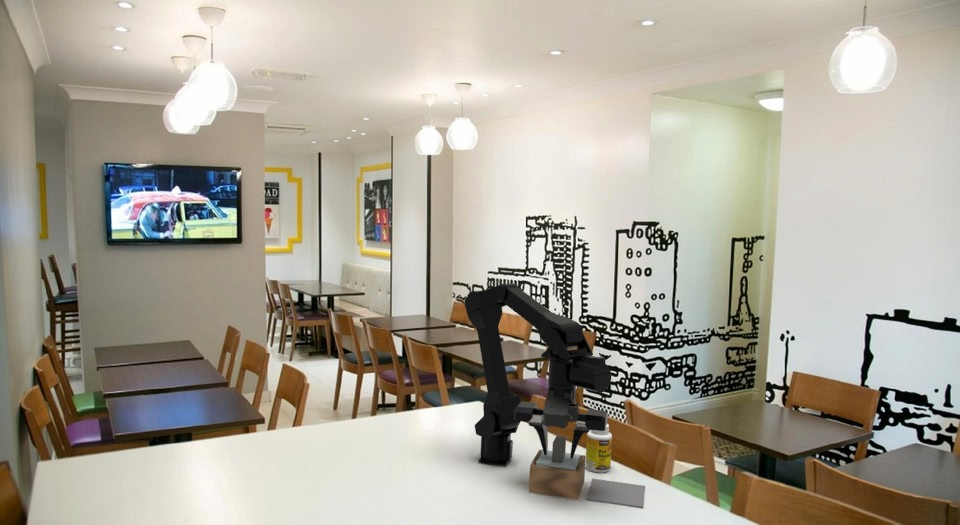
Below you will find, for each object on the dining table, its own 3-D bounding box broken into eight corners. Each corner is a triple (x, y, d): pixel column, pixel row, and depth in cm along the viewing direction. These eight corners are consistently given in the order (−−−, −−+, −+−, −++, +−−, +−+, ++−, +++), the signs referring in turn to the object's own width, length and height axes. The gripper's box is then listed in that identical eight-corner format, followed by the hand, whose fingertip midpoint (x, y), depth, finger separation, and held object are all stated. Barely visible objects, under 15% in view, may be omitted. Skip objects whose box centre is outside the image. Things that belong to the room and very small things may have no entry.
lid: (535, 467, 134) (536, 443, 133) (542, 454, 141) (543, 431, 141) (575, 472, 131) (576, 448, 131) (580, 459, 139) (581, 436, 139)
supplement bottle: (597, 475, 144) (599, 429, 143) (580, 466, 148) (582, 422, 148) (615, 470, 147) (617, 425, 146) (598, 462, 151) (600, 419, 151)
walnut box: (528, 492, 133) (530, 465, 133) (538, 474, 143) (539, 449, 142) (578, 499, 130) (579, 472, 130) (584, 481, 140) (585, 455, 140)
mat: (586, 499, 130) (586, 498, 130) (592, 479, 141) (592, 478, 141) (643, 508, 127) (643, 506, 127) (644, 487, 138) (644, 485, 138)
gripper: (509, 386, 130) (505, 463, 131) (604, 396, 125) (600, 476, 126) (521, 374, 141) (517, 446, 142) (609, 383, 136) (605, 457, 137)
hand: (558, 456), depth 136 cm, fingers open, 5 cm apart
